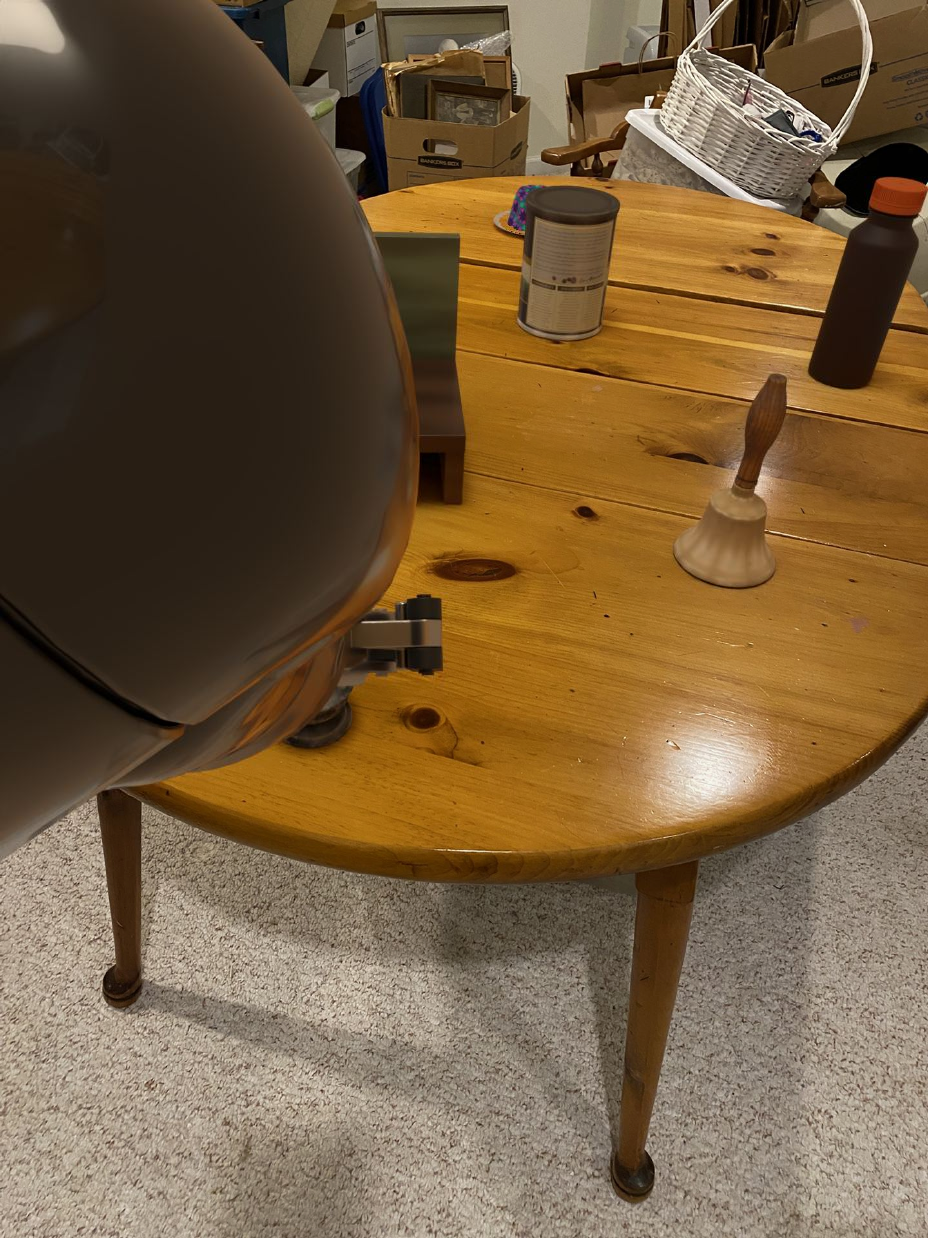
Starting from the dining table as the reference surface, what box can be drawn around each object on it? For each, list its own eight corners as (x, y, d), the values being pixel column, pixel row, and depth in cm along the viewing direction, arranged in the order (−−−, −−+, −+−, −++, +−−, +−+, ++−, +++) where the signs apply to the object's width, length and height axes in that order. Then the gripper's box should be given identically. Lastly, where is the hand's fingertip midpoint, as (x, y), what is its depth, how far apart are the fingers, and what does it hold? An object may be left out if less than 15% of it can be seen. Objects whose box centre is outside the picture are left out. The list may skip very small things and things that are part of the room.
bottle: (873, 393, 100) (945, 197, 87) (809, 384, 100) (870, 190, 87) (866, 366, 105) (932, 177, 92) (804, 358, 105) (861, 170, 92)
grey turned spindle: (369, 696, 62) (365, 553, 54) (337, 761, 58) (327, 615, 50) (288, 677, 63) (272, 534, 55) (250, 739, 59) (227, 593, 51)
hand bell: (713, 516, 80) (759, 341, 70) (795, 562, 76) (858, 382, 65) (652, 551, 76) (692, 371, 65) (735, 602, 71) (792, 417, 61)
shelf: (462, 507, 80) (472, 303, 68) (226, 507, 78) (195, 298, 66) (452, 420, 91) (459, 232, 79) (246, 419, 89) (222, 227, 78)
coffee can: (499, 315, 111) (507, 191, 102) (567, 300, 115) (581, 180, 106) (550, 348, 105) (564, 219, 95) (620, 331, 109) (640, 206, 100)
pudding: (568, 245, 130) (572, 206, 127) (485, 235, 132) (487, 196, 129) (579, 219, 139) (584, 182, 136) (502, 210, 141) (504, 173, 138)
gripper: (463, 484, 26) (433, 563, 42) (-74, 488, 24) (109, 568, 40) (470, 757, 25) (437, 730, 41) (-79, 775, 24) (109, 740, 40)
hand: (274, 649), depth 41 cm, fingers open, 8 cm apart
